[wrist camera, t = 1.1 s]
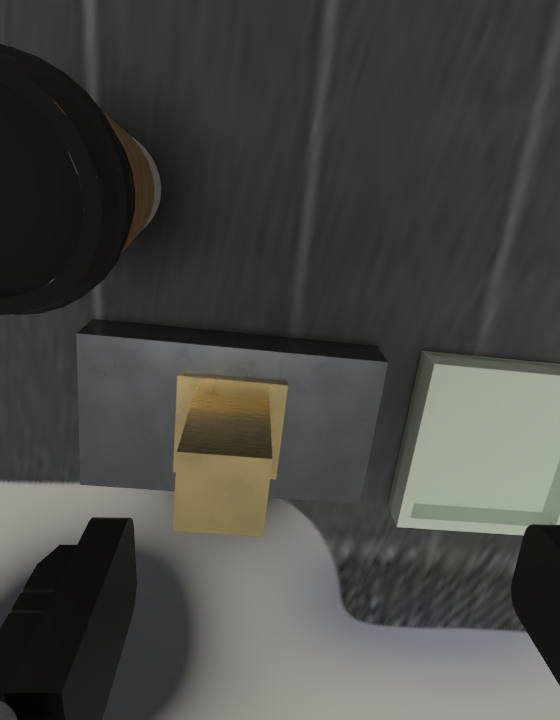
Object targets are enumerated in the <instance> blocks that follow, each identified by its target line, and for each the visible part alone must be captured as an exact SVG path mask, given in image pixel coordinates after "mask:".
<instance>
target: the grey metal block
mask: <svg viewBox="0 0 560 720" xmlns="http://www.w3.org/2000/svg"><path fill="white" fill-rule="evenodd" d="M76 336H77V374H78V412H79V450H80V485H93V486H107V487H122V488H136V489H150V490H165V491H175V477H176V472H173V460H174V438H175V417H176V396H177V376H178V373H179V372H183V373H194V374H205V375H217V376H228V377H239V378H251V379H262V380H273V381H285V382H288V391H287V399H286V406H285V414H284V422H283V430H282V438H281V445H280V453H279V461H278V469H277V477H276V479H270V484H269V492H268V498H280V499H295V500H309V501H323V502H338V503H352V504H360V503H361V497H362V492H363V487H364V482H365V477H366V472H367V467H368V462H369V457H370V452H371V447H372V442H373V437H374V432H375V427H376V422H377V417H378V412H379V407H380V402H381V397H382V392H383V387H384V382H385V377H386V372H387V366H388V361H387V360H386V358H385V357H384V356H383V354H382V353H381V351H380V350H379V349H378V347H377V346H368V345H357V344H347V343H336V342H326V341H315V340H305V339H294V338H284V337H273V336H263V335H252V334H242V333H231V332H221V331H210V330H200V329H189V328H179V327H168V326H158V325H148V324H137V323H127V322H116V321H106V320H95V319H93V320H92V321H90V322H89V323H88V324H87V325H86V326H85V327H83V328H82V329H81V330H80V331H79V332H77V333H76Z"/></svg>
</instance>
